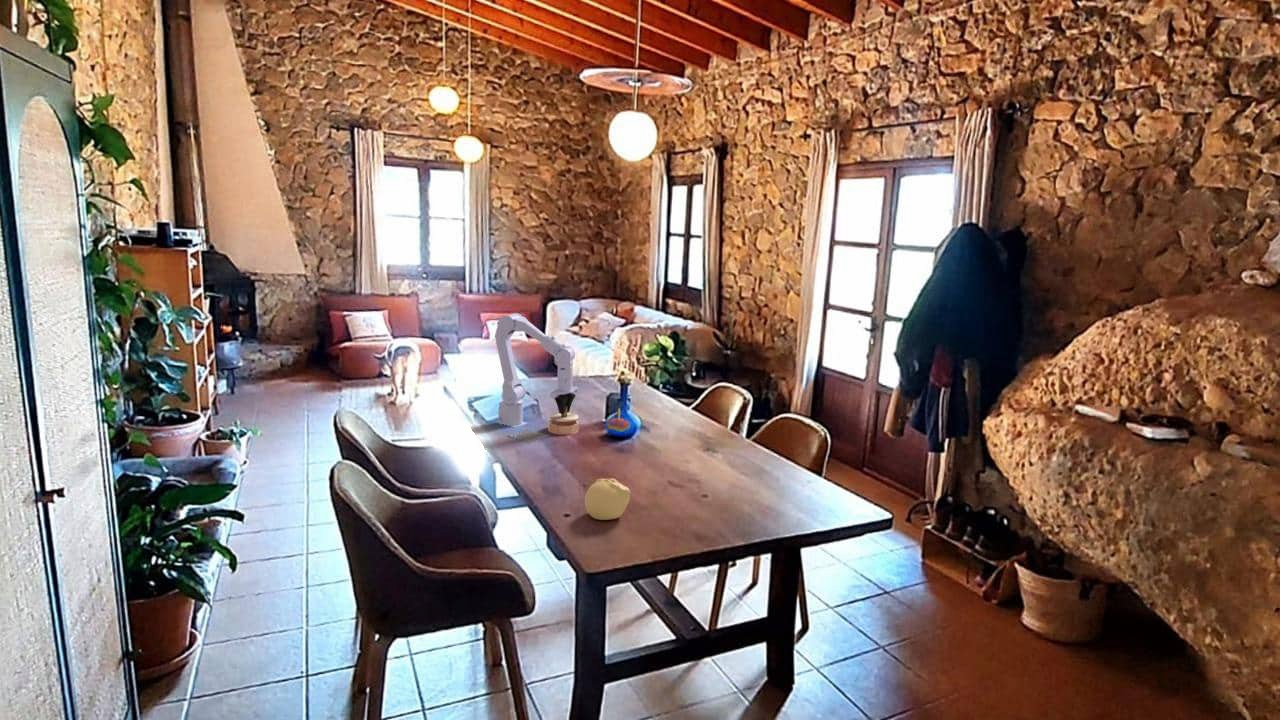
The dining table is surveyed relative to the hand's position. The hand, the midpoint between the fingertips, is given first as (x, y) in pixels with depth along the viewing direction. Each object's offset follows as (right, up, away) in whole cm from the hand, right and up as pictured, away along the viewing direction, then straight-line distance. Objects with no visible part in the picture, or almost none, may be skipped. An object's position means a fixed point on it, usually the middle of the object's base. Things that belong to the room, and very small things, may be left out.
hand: (564, 412), depth 283 cm
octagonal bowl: (0, -7, +1) cm, 7 cm away
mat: (-13, -8, -8) cm, 17 cm away
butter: (+20, -24, -77) cm, 83 cm away
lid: (0, -2, 0) cm, 2 cm away
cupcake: (+21, -9, -2) cm, 23 cm away
